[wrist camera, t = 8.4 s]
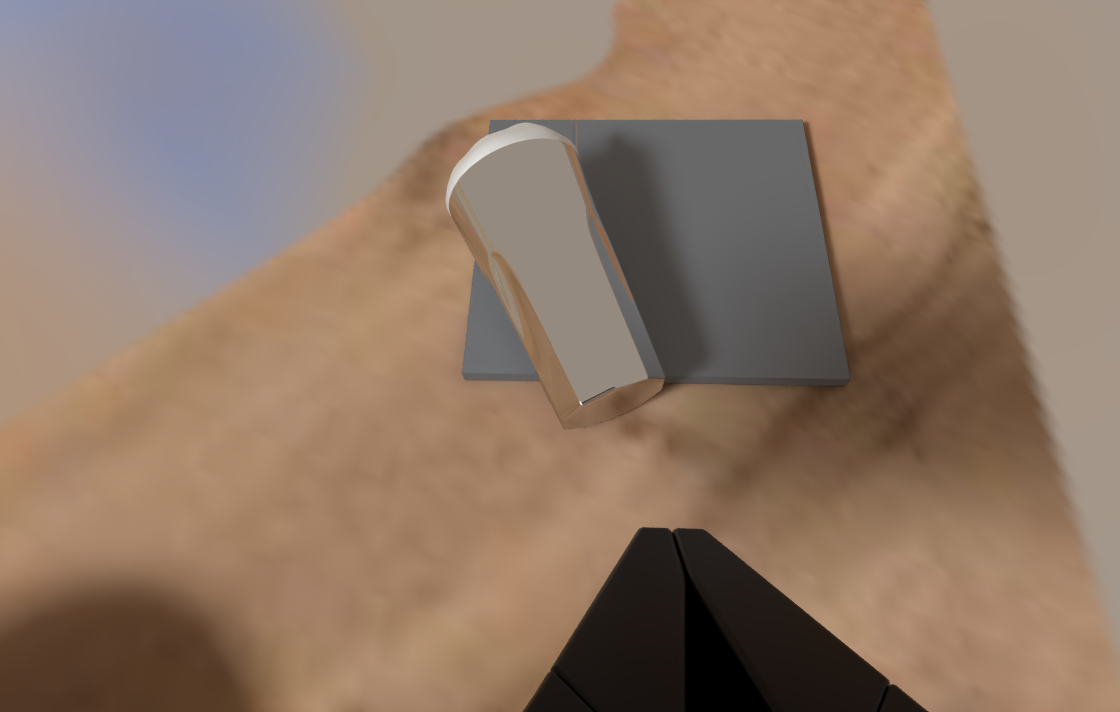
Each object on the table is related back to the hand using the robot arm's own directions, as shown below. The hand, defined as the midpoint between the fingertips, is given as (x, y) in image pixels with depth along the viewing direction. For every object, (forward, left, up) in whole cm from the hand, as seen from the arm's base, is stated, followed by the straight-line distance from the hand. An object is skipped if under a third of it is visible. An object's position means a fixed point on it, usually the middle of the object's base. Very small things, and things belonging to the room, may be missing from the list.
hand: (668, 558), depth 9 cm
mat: (+13, -1, -10) cm, 17 cm away
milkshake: (+6, 0, -9) cm, 10 cm away
